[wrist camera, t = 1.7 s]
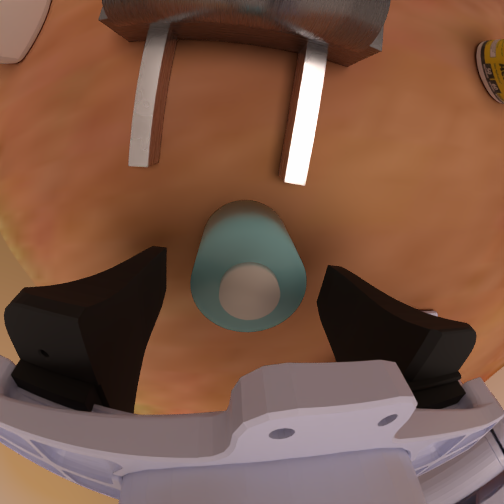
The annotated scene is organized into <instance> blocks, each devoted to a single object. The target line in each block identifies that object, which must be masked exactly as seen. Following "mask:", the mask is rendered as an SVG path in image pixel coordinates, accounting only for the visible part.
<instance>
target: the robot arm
mask: <svg viewBox="0 0 504 504" xmlns="http://www.w3.org/2000/svg"><path fill="white" fill-rule="evenodd" d="M166 254H167V248H165V247H156V246H152V247H150V248H148V249H146V250H144V251H142V252H141V253H139V254H137V255H135V256H134V257H132V258H130V259H128V260H126V261H124V262H122V263H120V264H118V265H116V266H115V267H113V268H110V269H108V270H106V271H104V272H101V273H98V274H96V275H93V276H90V277H87V278H83V279H80V280H76V281H72V282H68V283H63V284H57V285H51V286H40V287H25V288H23V289H22V290H21V291H20V293H19V294H18V295H17V296H16V297H15V298H14V299H13V300H12V301H11V303H10V304H9V305H8V306H7V307H6V308H5V312H4V320H5V326H6V329H7V331H8V334H9V336H10V339H11V341H12V343H13V345H14V347H15V349H16V351H17V353H18V355H19V357H20V361H19V362H18V364H17V365H15V364H14V363H13V362H12V361H11V360H9V359H8V358H5V357H3V356H1V355H0V442H1V443H2V444H4V445H5V446H7V447H8V448H10V449H12V450H13V451H15V452H17V453H18V454H20V455H22V456H23V457H25V458H27V459H29V460H30V461H32V462H34V463H36V464H38V465H39V466H41V467H43V468H45V469H47V470H49V471H51V472H53V473H55V474H57V475H59V476H61V477H63V478H65V479H67V480H70V481H71V482H74V483H76V484H78V485H80V486H83V487H85V488H88V489H90V490H93V491H96V492H98V493H101V494H104V495H107V496H110V497H112V498H115V499H119V504H504V410H503V409H502V407H501V405H500V404H499V402H498V401H497V399H496V398H495V397H494V395H493V394H492V393H491V392H490V391H489V389H488V388H487V386H486V385H485V383H484V382H483V380H482V379H481V377H478V378H476V379H473V380H470V381H467V382H465V383H464V384H463V383H462V382H461V380H460V379H461V375H460V373H459V372H458V370H459V369H460V367H461V366H462V365H463V363H464V362H465V360H466V359H467V357H468V356H469V355H470V353H471V351H472V349H473V347H474V345H475V342H476V332H475V331H474V329H473V328H472V327H471V326H470V325H469V324H467V323H463V322H458V321H453V320H449V319H444V318H441V317H438V314H437V313H436V311H420V310H418V309H415V308H413V307H410V306H408V305H406V304H404V303H402V302H400V301H398V300H396V299H394V298H392V297H390V296H388V295H387V294H385V293H383V292H382V291H380V290H378V289H377V288H375V287H374V286H372V285H370V284H369V283H367V282H366V281H364V280H363V279H361V278H360V277H358V276H356V275H355V274H353V273H352V272H350V271H348V270H347V269H345V268H343V267H340V266H331V265H328V267H327V270H326V274H325V277H324V280H323V284H322V287H321V290H320V293H319V296H318V299H317V306H318V311H319V316H320V320H321V322H322V325H323V328H324V330H325V333H326V335H327V338H328V340H329V343H330V345H331V348H332V351H333V353H334V356H335V359H336V362H331V363H281V364H274V365H267V366H262V367H260V368H258V369H256V370H254V371H252V372H250V373H248V374H246V375H244V376H242V377H241V378H240V379H239V381H238V382H237V384H236V385H235V387H234V388H233V389H232V391H231V397H230V403H229V406H228V408H227V410H226V411H218V412H207V413H193V414H173V415H138V414H133V413H134V405H135V399H136V392H137V386H138V381H139V376H140V370H141V366H142V361H143V357H144V353H145V349H146V346H147V343H148V340H149V338H150V335H151V333H152V330H153V327H154V325H155V322H156V320H157V317H158V315H159V312H160V310H161V307H162V304H163V300H164V296H165V292H166Z"/></svg>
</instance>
